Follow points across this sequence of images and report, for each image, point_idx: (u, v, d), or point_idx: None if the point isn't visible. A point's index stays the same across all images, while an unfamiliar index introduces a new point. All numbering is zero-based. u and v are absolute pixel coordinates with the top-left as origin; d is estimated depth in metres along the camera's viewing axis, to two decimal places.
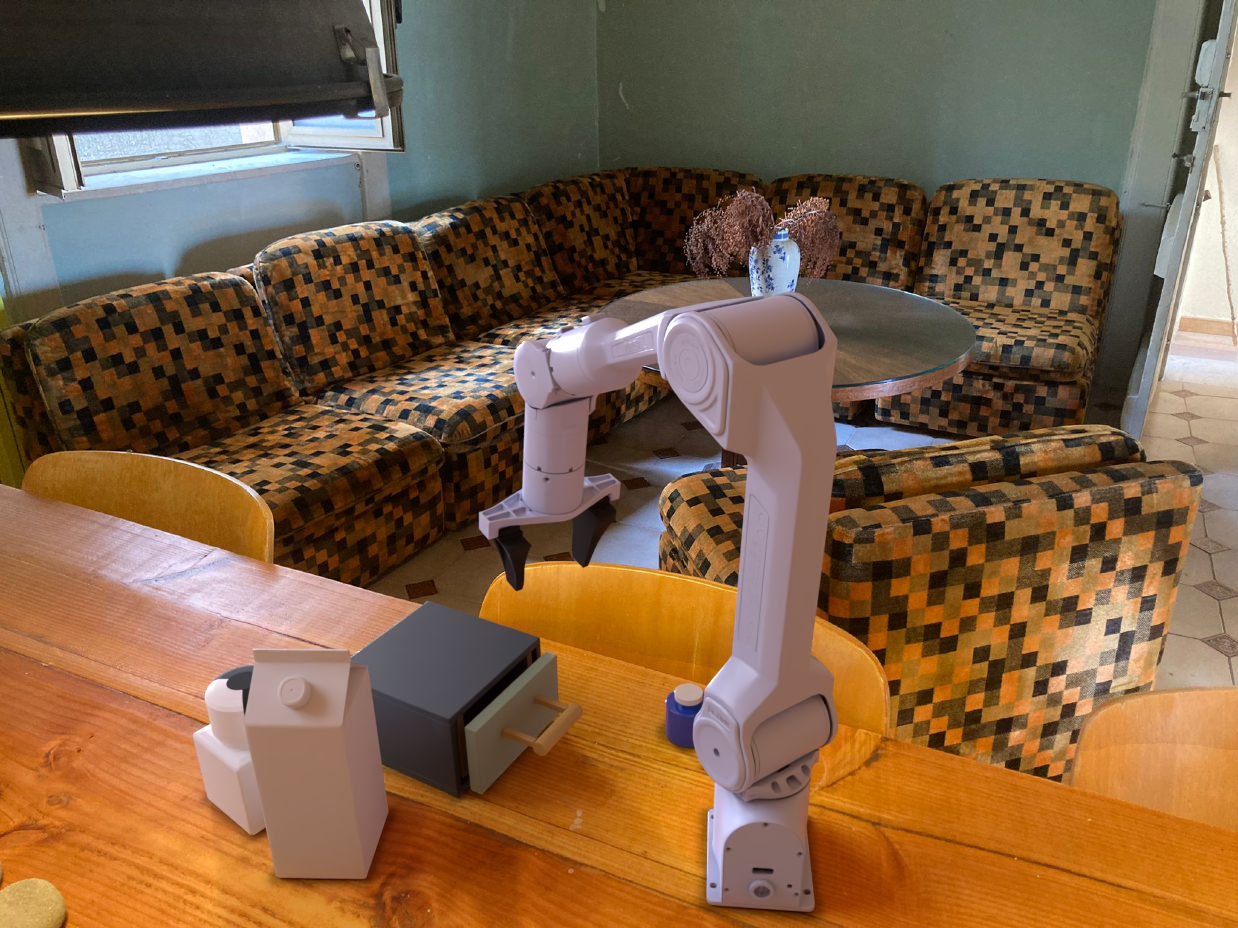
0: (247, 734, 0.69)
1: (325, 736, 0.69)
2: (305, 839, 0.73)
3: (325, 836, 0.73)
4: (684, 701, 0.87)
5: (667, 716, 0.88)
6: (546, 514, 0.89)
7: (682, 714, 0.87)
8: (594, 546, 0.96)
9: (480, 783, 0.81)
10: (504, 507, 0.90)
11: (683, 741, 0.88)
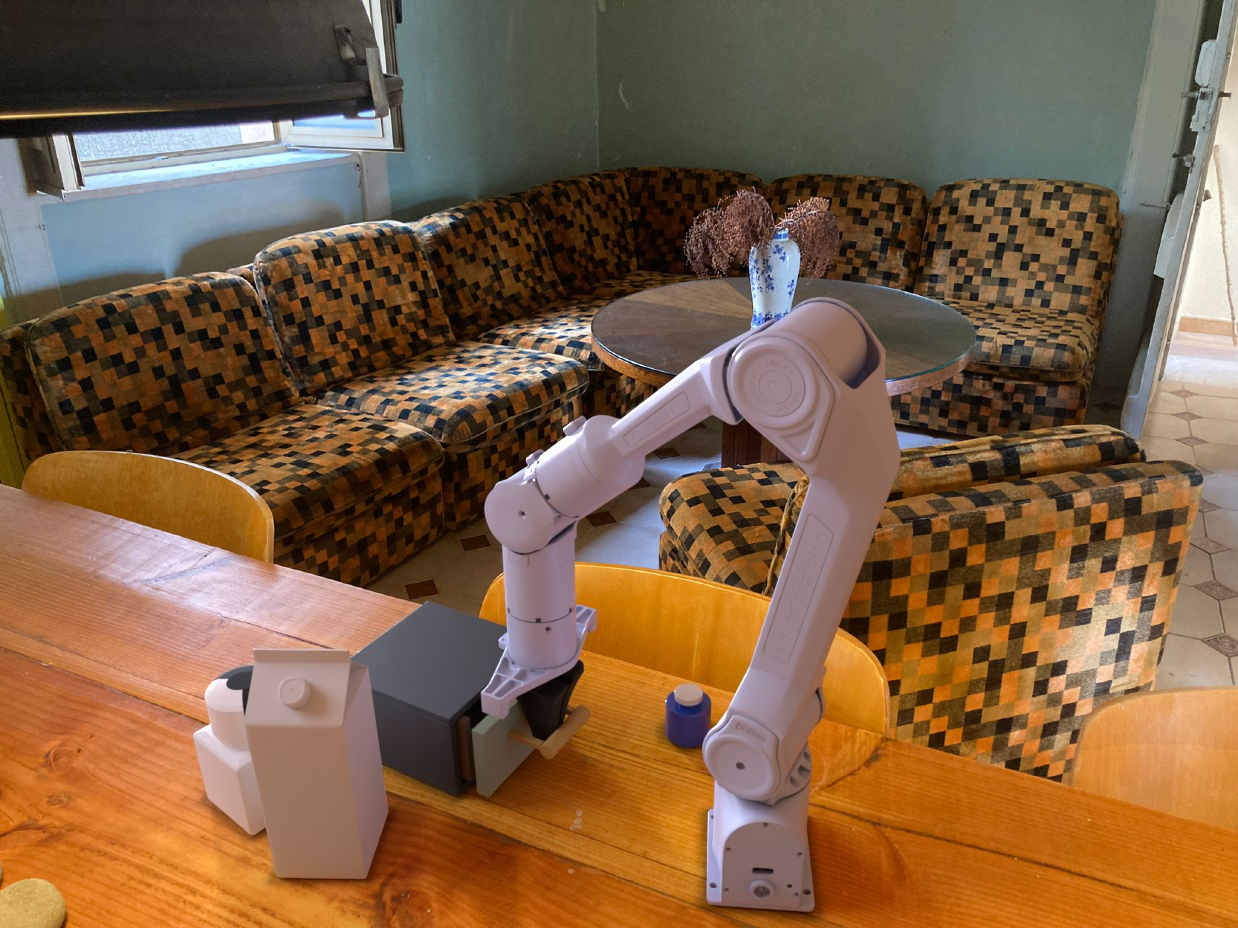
0: (247, 734, 0.69)
1: (325, 736, 0.69)
2: (305, 839, 0.73)
3: (325, 836, 0.73)
4: (684, 701, 0.87)
5: (667, 716, 0.88)
6: (552, 668, 0.78)
7: (682, 714, 0.87)
8: (565, 710, 0.83)
9: (487, 786, 0.81)
10: (502, 677, 0.77)
11: (683, 741, 0.88)
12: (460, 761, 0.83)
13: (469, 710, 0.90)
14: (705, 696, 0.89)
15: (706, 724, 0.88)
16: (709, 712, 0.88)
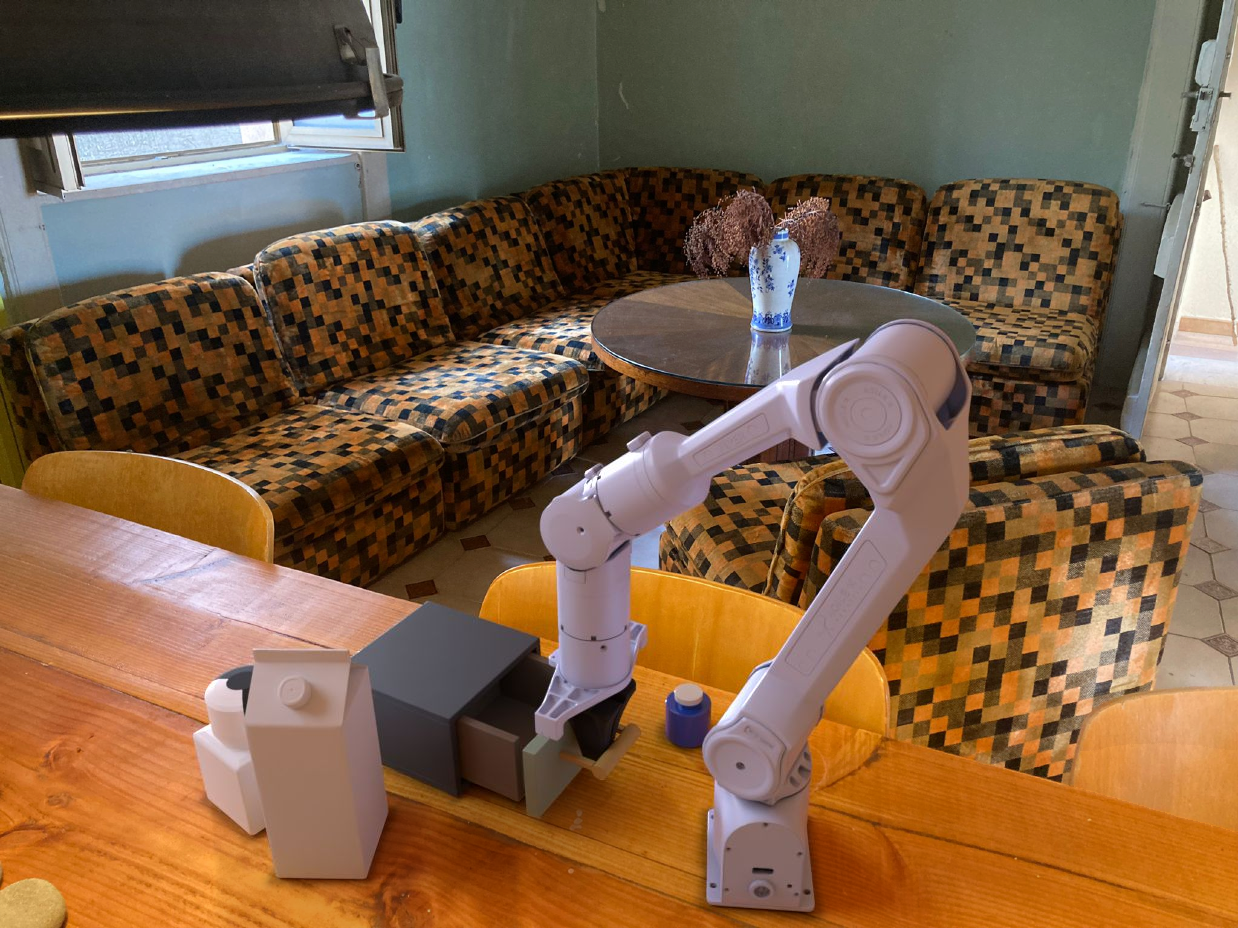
0: (247, 734, 0.69)
1: (325, 736, 0.69)
2: (305, 839, 0.73)
3: (325, 836, 0.73)
4: (684, 701, 0.87)
5: (667, 716, 0.88)
6: (606, 687, 0.76)
7: (682, 714, 0.87)
8: (616, 729, 0.81)
9: (537, 807, 0.79)
10: (555, 697, 0.75)
11: (683, 741, 0.88)
12: (508, 781, 0.80)
13: (513, 727, 0.88)
14: (705, 696, 0.89)
15: (706, 724, 0.88)
16: (709, 712, 0.88)
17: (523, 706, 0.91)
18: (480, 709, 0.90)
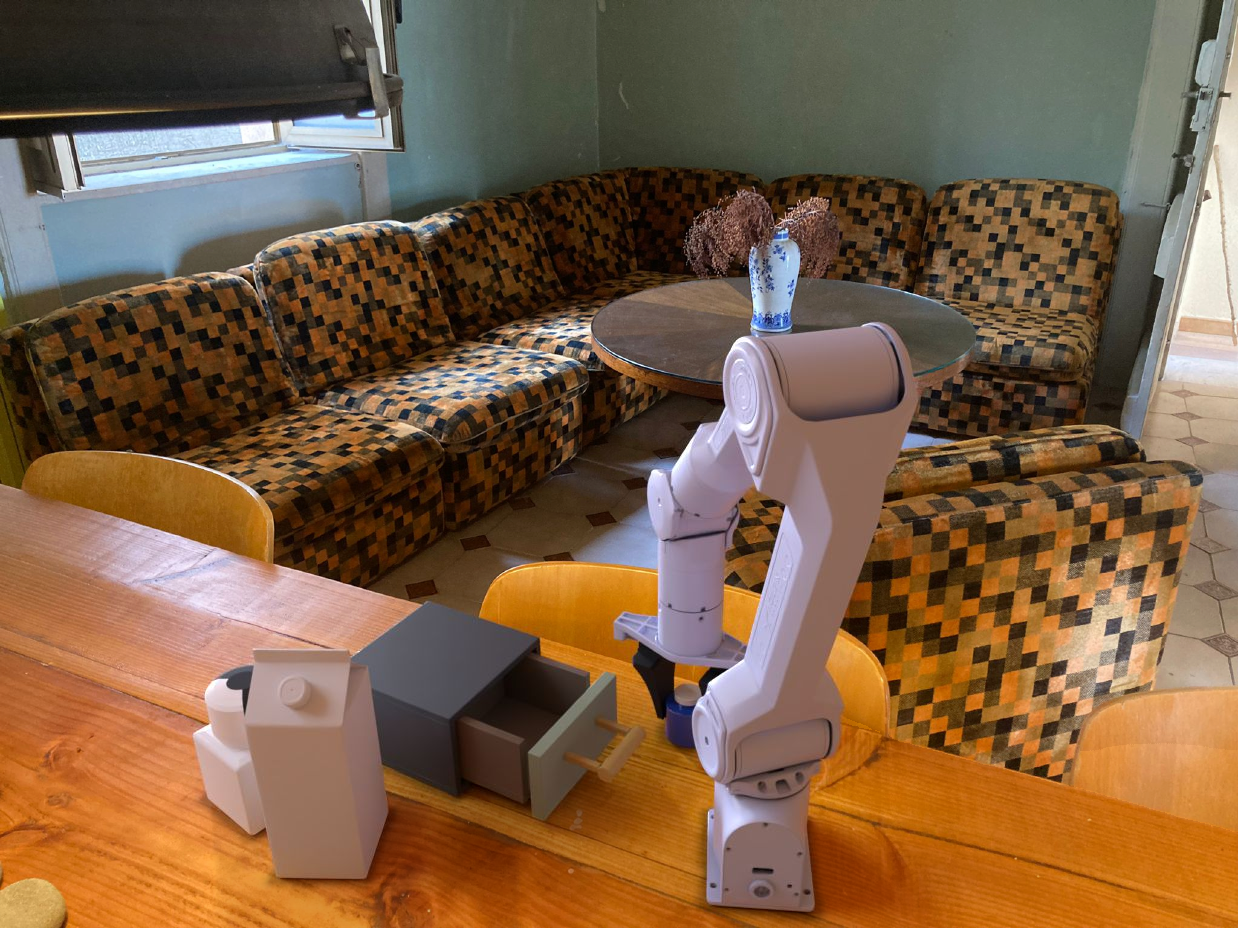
0: (247, 734, 0.69)
1: (325, 736, 0.69)
2: (305, 839, 0.73)
3: (325, 836, 0.73)
4: (684, 701, 0.87)
5: (667, 716, 0.88)
6: (658, 644, 0.85)
7: (682, 714, 0.87)
8: None
9: (543, 809, 0.79)
10: (646, 621, 0.88)
11: (683, 741, 0.88)
12: (514, 783, 0.80)
13: (518, 729, 0.88)
14: None
15: None
16: None
17: (527, 708, 0.91)
18: (485, 711, 0.90)
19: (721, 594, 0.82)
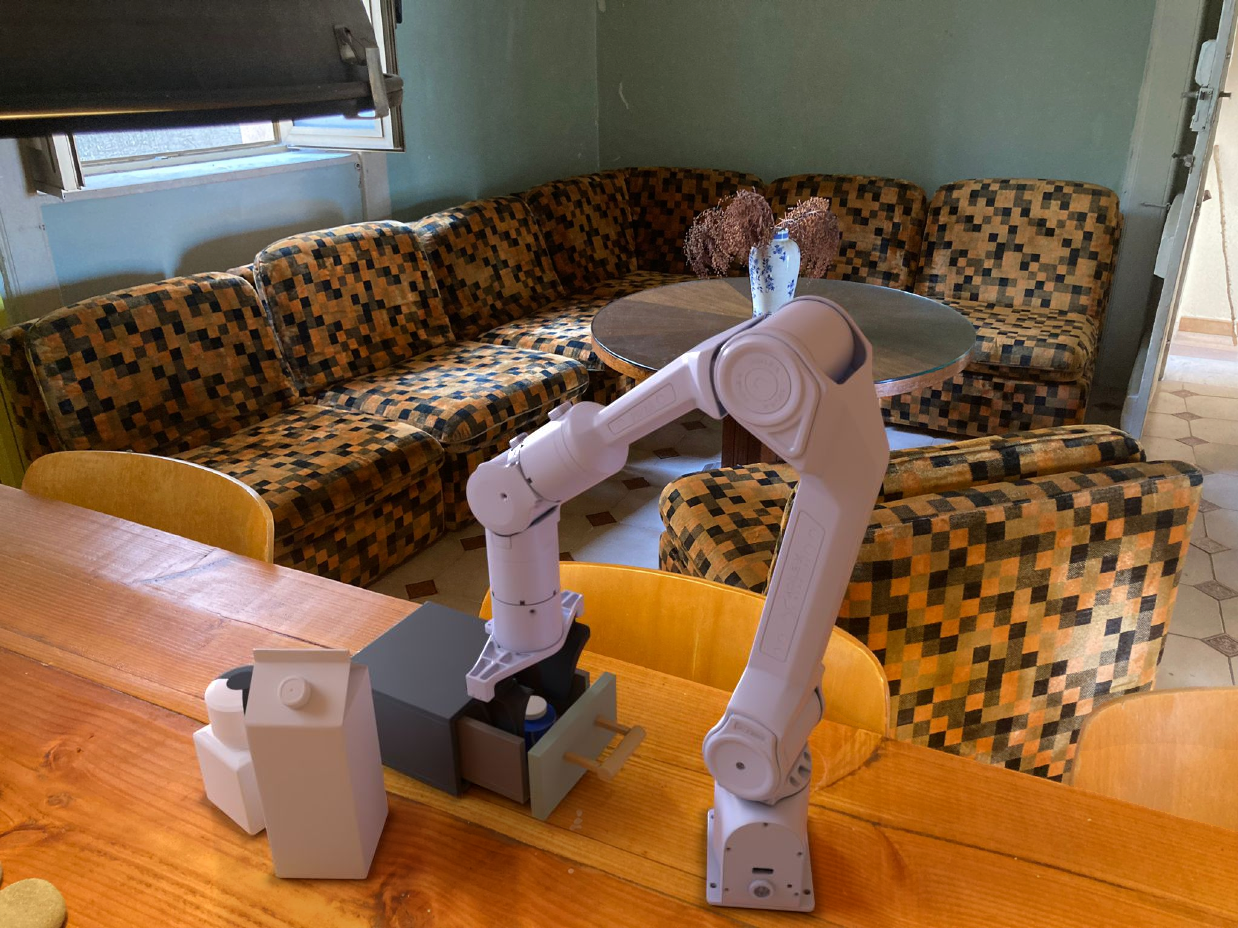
0: (247, 734, 0.69)
1: (325, 736, 0.69)
2: (305, 839, 0.73)
3: (325, 836, 0.73)
4: (544, 709, 0.83)
5: None
6: (537, 651, 0.78)
7: (553, 719, 0.84)
8: (573, 674, 0.86)
9: (543, 809, 0.79)
10: (488, 661, 0.77)
11: None
12: (513, 783, 0.80)
13: None
14: None
15: None
16: None
17: None
18: None
19: None
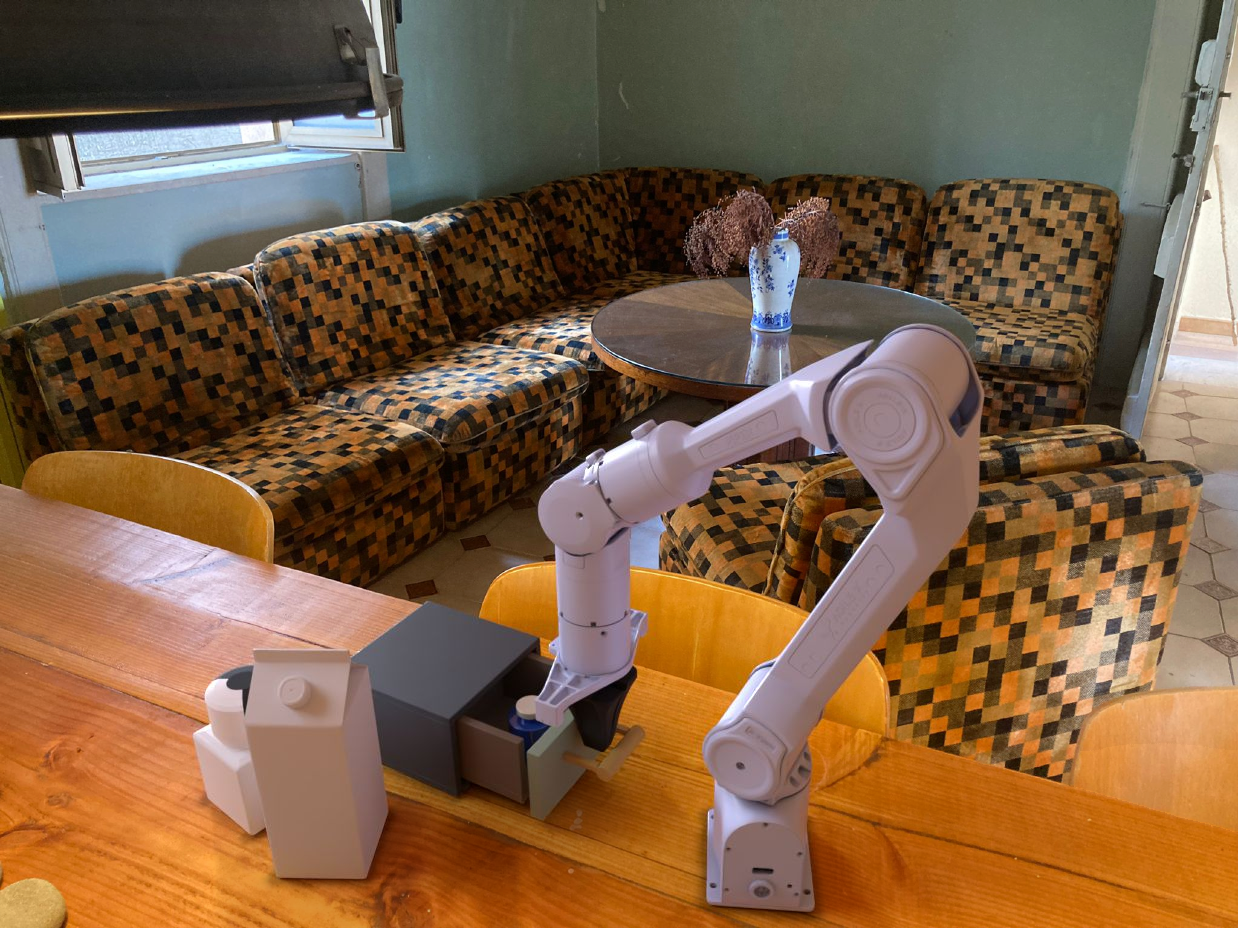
0: (247, 734, 0.69)
1: (325, 736, 0.69)
2: (305, 839, 0.73)
3: (325, 836, 0.73)
4: None
5: (539, 738, 0.83)
6: (606, 674, 0.75)
7: None
8: (617, 717, 0.80)
9: (542, 809, 0.79)
10: (556, 684, 0.74)
11: None
12: (513, 783, 0.80)
13: None
14: None
15: None
16: None
17: None
18: (484, 710, 0.90)
19: None
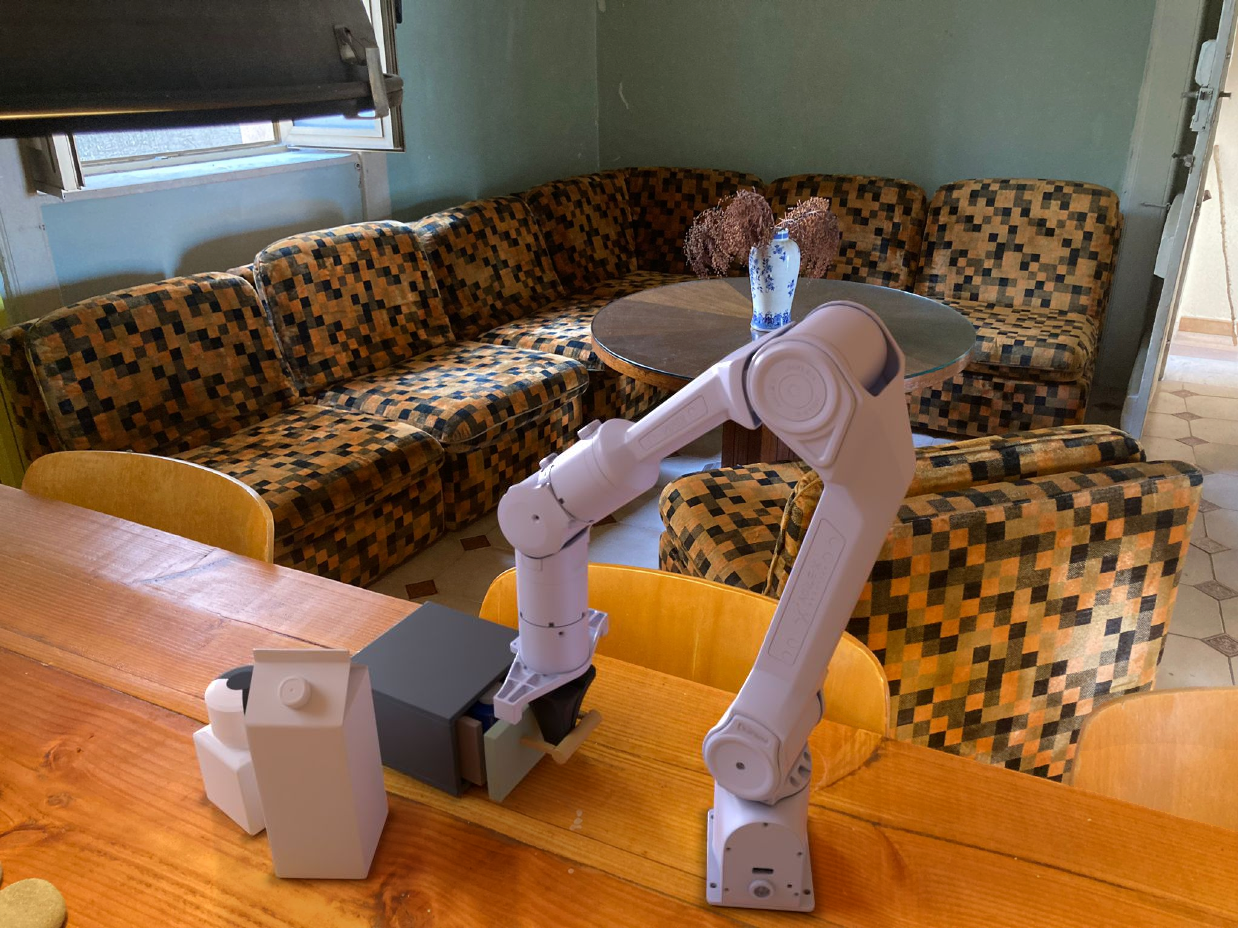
0: (247, 734, 0.69)
1: (325, 736, 0.69)
2: (305, 839, 0.73)
3: (325, 836, 0.73)
4: None
5: None
6: (564, 673, 0.77)
7: None
8: (577, 714, 0.83)
9: (499, 791, 0.81)
10: (515, 682, 0.77)
11: None
12: (471, 766, 0.82)
13: None
14: None
15: None
16: None
17: None
18: None
19: None
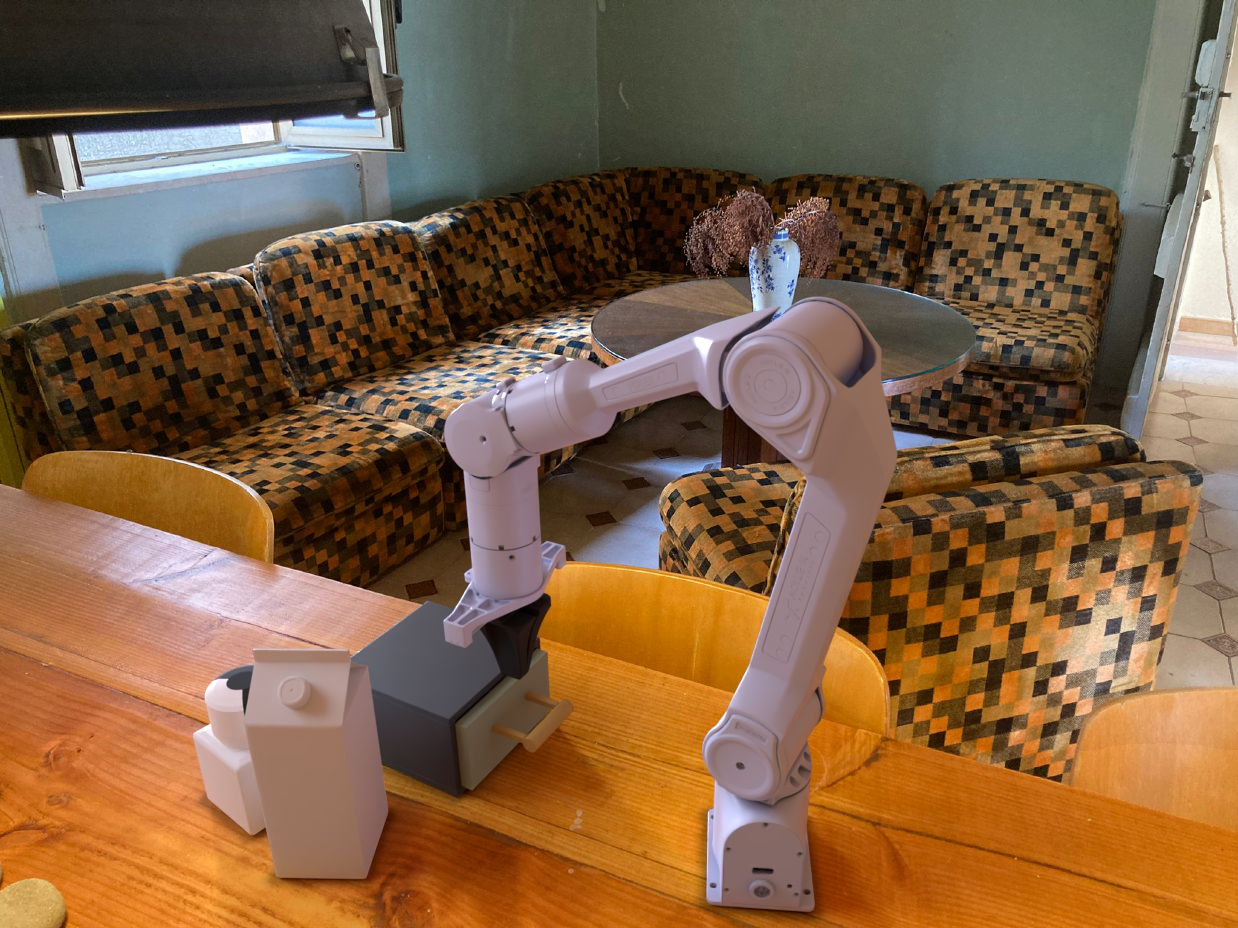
0: (247, 734, 0.69)
1: (325, 736, 0.69)
2: (305, 839, 0.73)
3: (325, 836, 0.73)
4: None
5: None
6: (516, 598, 0.77)
7: (484, 694, 0.87)
8: (533, 645, 0.82)
9: (471, 779, 0.82)
10: (466, 607, 0.76)
11: None
12: None
13: None
14: None
15: None
16: None
17: None
18: None
19: None
